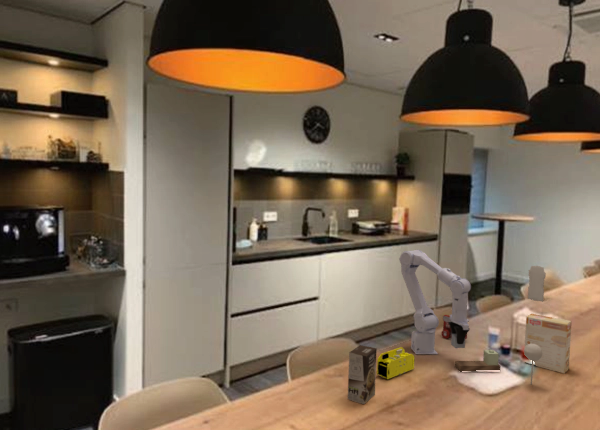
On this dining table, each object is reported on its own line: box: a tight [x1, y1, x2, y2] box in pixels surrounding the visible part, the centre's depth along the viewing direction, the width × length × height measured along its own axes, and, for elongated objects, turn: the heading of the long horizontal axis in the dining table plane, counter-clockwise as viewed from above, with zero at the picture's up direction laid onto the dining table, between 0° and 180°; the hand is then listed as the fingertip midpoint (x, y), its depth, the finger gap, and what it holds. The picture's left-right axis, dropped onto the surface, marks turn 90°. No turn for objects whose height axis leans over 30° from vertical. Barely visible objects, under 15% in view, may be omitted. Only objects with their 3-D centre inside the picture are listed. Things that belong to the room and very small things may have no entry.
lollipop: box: [523, 344, 542, 385], centre depth 166 cm, size 6×6×15 cm
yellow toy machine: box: [376, 346, 416, 380], centre depth 173 cm, size 16×6×8 cm, turn 130°
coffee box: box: [347, 344, 377, 405], centre depth 153 cm, size 9×6×16 cm
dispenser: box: [527, 265, 547, 302], centre depth 293 cm, size 11×4×22 cm, turn 38°
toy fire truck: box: [440, 314, 468, 340], centre depth 214 cm, size 7×12×10 cm, turn 38°
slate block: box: [450, 334, 466, 349], centre depth 185 cm, size 4×4×5 cm
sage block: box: [482, 349, 499, 365], centre depth 179 cm, size 4×4×5 cm
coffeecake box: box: [523, 313, 572, 374], centre depth 183 cm, size 15×7×20 cm, turn 47°
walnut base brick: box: [454, 360, 501, 373], centre depth 179 cm, size 16×5×2 cm, turn 93°
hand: (457, 341), depth 185 cm, fingers closed on slate block, 4 cm apart
